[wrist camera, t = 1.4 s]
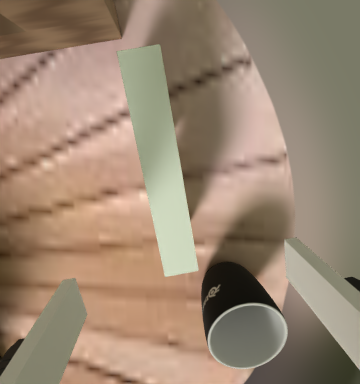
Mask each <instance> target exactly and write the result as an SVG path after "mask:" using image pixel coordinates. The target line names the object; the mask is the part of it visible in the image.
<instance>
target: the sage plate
mask: <svg viewBox="0 0 360 384" xmlns="http://www.w3.org/2000/svg"><path fill="white" fill-rule="evenodd" d="M117 56H118V60H119V65H120V69H121V74H122V79H123V83H124V88H125V93H126V97H127V102H128V107H129V111H130V116H131V121H132V125H133V130H134V135H135V139H136V144H137V148H138V153H139V158H140V162H141V167H142V172H143V176H144V181H145V186H146V190H147V195H148V200H149V204H150V209H151V214H152V218H153V223H154V227H155V232H156V237H157V241H158V246H159V251H160V255H161V260H162V265H163V269H164V274H165V277H168V276H173V275H178V274H184V273H189V272H194V271H199V270H198V264H197V258H196V253H195V247H194V241H193V235H192V229H191V223H190V217H189V211H188V205H187V200H186V194H185V188H184V182H183V176H182V170H181V164H180V158H179V152H178V147H177V141H176V135H175V129H174V123H173V117H172V111H171V105H170V99H169V94H168V88H167V82H166V76H165V70H164V64H163V58H162V52H161V46H160V44H157V45H152V46H146V47H140V48H134V49H128V50H122V51H117Z"/></svg>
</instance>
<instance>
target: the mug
mask: <svg viewBox="0 0 360 384" xmlns="http://www.w3.org/2000/svg"><path fill="white" fill-rule="evenodd" d="M201 300H202V314H203V323H204V329H205V336H206V340H207V344H208V348H209V350H210V352H211V354H212V356H213V357H214V358H215V359H216V360H217V361H218V362H220V363H221V364H223V365H225V366H228V367H231V368H236V369H248V368H254V367H257V366H260V365H262V364H264V363H266V362H268V361H270V360H271V359H272V358H274V357H275V356H276V355H277V354H278V353H279V352H280V351H281V349H282V348H283V346H284V344H285V341H286V338H287V333H288V328H287V324H286V321H285V318H284V316H283V315H282V313H281V311H280V310H279V308H278V307H277V305H276V304H275V302H274V301H273V299H272V298H271V297H270V295H269V294H268V293H267V292H266V290H265V289H264V288H263V286H262V285H261V284H260V283H259V282H258V281H257V279H256V278H255V277H254V276H253V275H252V274H251V273H250V272H249V271H248V270H246V269H245V268H244V267H242V266H241V265H239V264H236V263H232V262H222V263H219V264H216V265H215V266H213V267H212V268H211V269H209V271H208V272H207V273H206V275H205V277H204V279H203V283H202V291H201Z"/></svg>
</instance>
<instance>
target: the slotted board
mask: <svg viewBox="0 0 360 384" xmlns="http://www.w3.org/2000/svg"><path fill="white" fill-rule="evenodd" d="M116 39H122V37H121V32H120V28H119V23H118V18H117V13H116V8H115V5H114V3H113V0H0V59H2V58H8V57H14V56H20V55H26V54H32V53H38V52H44V51H50V50H56V49H62V48H68V47H74V46H80V45H86V44H92V43H98V42H104V41H110V40H116Z"/></svg>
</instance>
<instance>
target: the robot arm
mask: <svg viewBox="0 0 360 384" xmlns="http://www.w3.org/2000/svg"><path fill="white" fill-rule="evenodd" d="M284 246H285V264H286V278H287V279H288V280H289V281H290V283H291V284H292V285H293V286H294V288H295V289H296V290H297V292H298V293H299V294H300V295H301V297H302V298H303V299H304V300H305V302H306V303H307V304H308V305H309V307H310V308H311V309H312V310H313V312H314V313H315V314H316V315H317V317H318V318H319V319H320V320H321V322H322V323H323V324H324V325H325V327H326V328H327V329H328V331H329V332H330V333H331V334H332V336H333V337H334V338H335V339H336V341H337V342H338V343H339V344H340V346H341V347H342V348H343V349H344V351H345V352H346V353H347V354H348V356H349V357H350V358H351V359H352V361H353V362H354V363H355V364H356V366H357V367H358V368H359V369H360V280H358V279H356V278H354V277H348V278H343V277H342V276H340V275H339V274H338V273H337V272H336V271H335V270H333V269H332V268H331V267H330V266H329V265H328V264H327V263H325V262H324V261H323V260H322V259H321V258H320V257H318V256H317V255H316V254H315V253H314V252H312V251H311V250H310V249H309V248H308V247H307V246H306V245H304V244H303V243H302V242H301V241H300V240H299V239H297V238H290V239H285V240H284ZM86 316H87V312H86V309H85V306H84V303H83V300H82V297H81V294H80V291H79V288H78V285H77V282H76V279H75V278H72V279H67V280H63V281H62V282H61V284H60V285H59V287H58V288H57V290H56V292H55V293H54V295H53V296H52V298H51V299H50V301H49V302H48V304H47V305H46V307H45V308H44V310H43V312H42V313H41V315H40V316H39V318H38V319H37V321H36V322H35V324H34V325H33V327H32V328H31V330H30V332H29V333H28V335H27V336H26V338H25V339H19V340H18V341H17V342H16V343H15V344H14V345H12V346H11V347H10V348H9V349H8V350H7V352H6V353H5V355H4V356H3V358H2V359H1V357H0V384H59V383H60V381H61V378H62V376H63V373H64V371H65V368H66V366H67V363H68V361H69V358H70V356H71V353H72V351H73V348H74V346H75V344H76V341H77V339H78V336H79V334H80V331H81V329H82V326H83V324H84V321H85V319H86Z"/></svg>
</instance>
